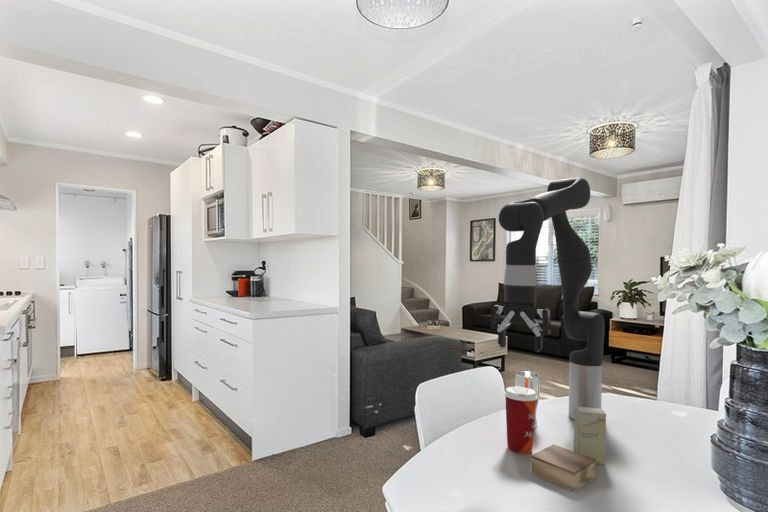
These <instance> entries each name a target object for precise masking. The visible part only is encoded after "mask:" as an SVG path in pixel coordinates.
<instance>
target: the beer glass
mask: <svg viewBox="0 0 768 512" xmlns="http://www.w3.org/2000/svg"><path fill="white" fill-rule="evenodd" d="M514 381H515V382H514V387H525V388H529V389H532V390H534V391H535V392H536V396H537V397H538V398H537V399H536V407H535V420H534V429H536V428H538V420H537V409H538V405H539V399H540V392H541V390H540V388H541V387H540V375H539V374H538V373H536V372H534V371H533V372H532V371H522V370H521V371H517V372H515V380H514Z"/></svg>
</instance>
